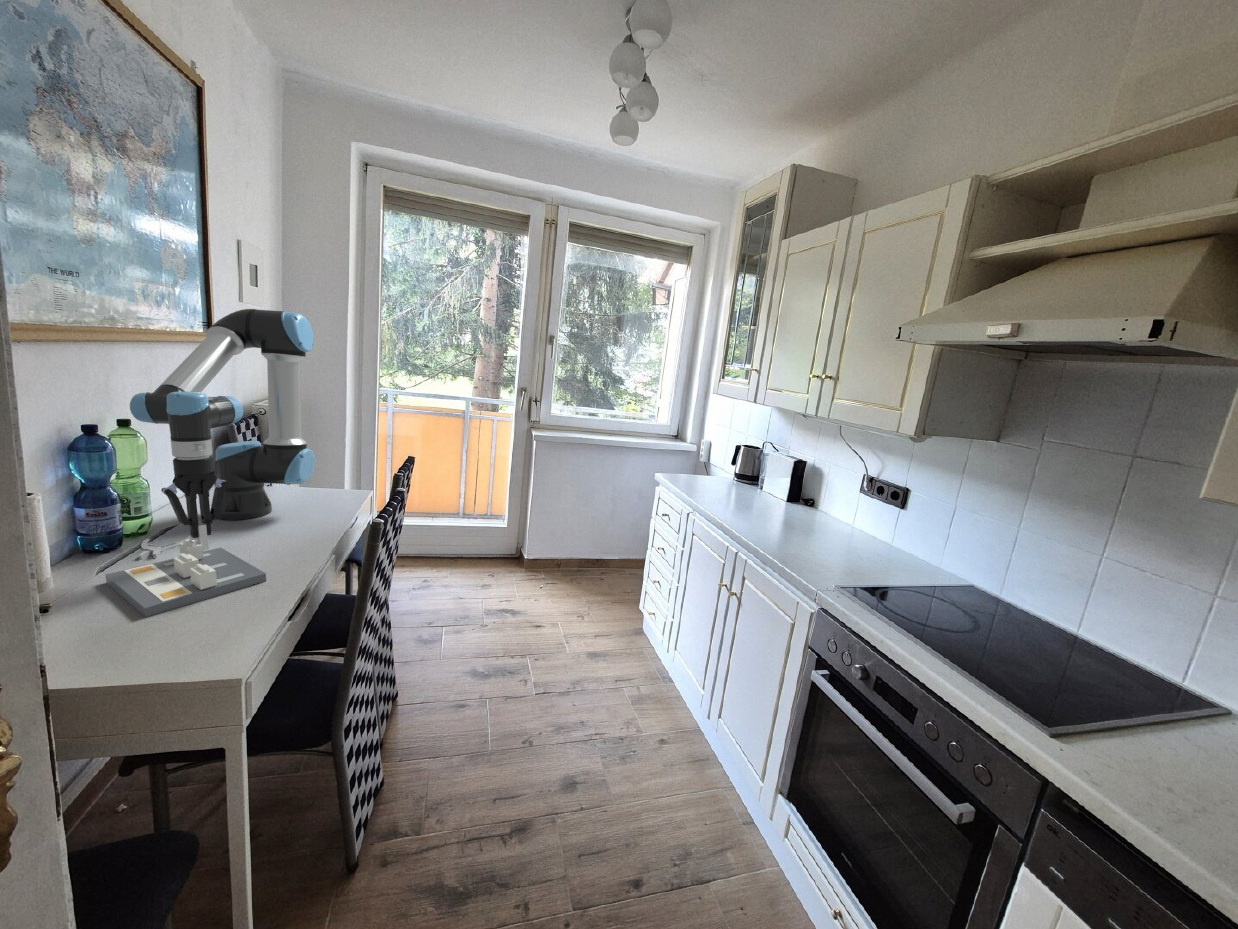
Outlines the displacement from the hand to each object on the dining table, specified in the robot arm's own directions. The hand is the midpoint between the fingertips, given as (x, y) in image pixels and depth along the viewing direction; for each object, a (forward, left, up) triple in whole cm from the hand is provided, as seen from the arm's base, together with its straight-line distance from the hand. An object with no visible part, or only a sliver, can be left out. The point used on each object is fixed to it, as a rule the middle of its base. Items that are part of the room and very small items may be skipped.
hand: (202, 548), depth 127 cm
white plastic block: (+6, +18, -2) cm, 19 cm away
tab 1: (+2, 0, -2) cm, 3 cm away
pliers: (+3, -18, -5) cm, 19 cm away
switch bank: (+6, +9, -4) cm, 11 cm away
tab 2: (+6, +9, -2) cm, 11 cm away
